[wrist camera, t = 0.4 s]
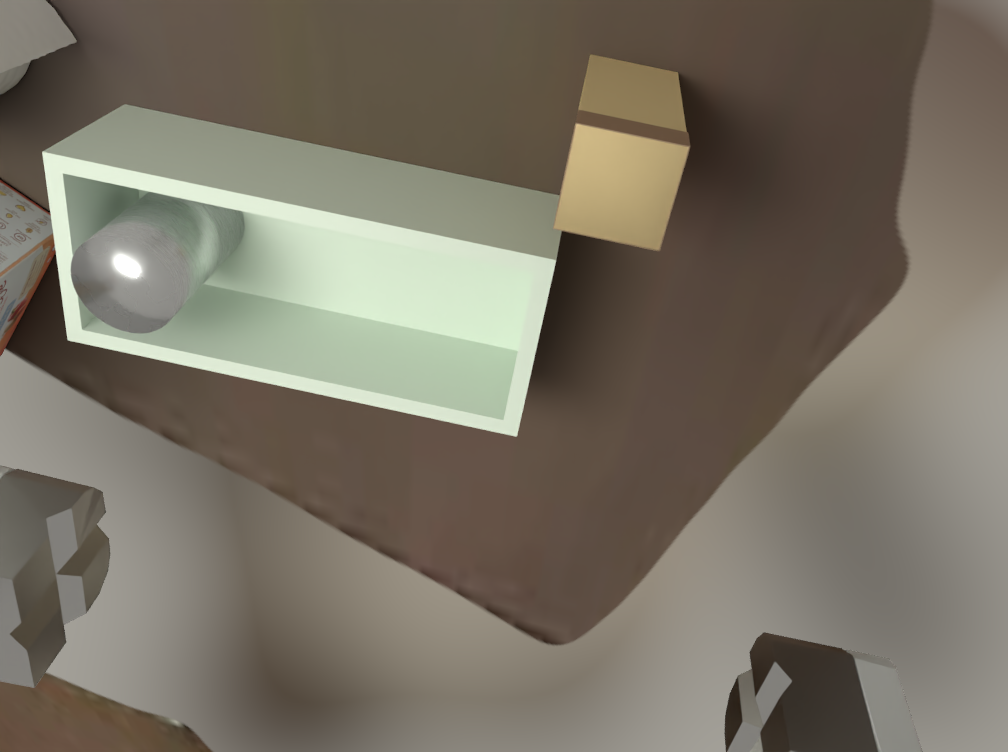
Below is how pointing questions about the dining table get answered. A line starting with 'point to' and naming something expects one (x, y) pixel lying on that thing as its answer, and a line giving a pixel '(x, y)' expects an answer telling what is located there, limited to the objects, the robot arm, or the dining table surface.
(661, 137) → the oat carton
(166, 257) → the tin can
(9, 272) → the cracker box
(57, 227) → the tote
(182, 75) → the dining table surface
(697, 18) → the dining table surface
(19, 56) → the toilet tissue
